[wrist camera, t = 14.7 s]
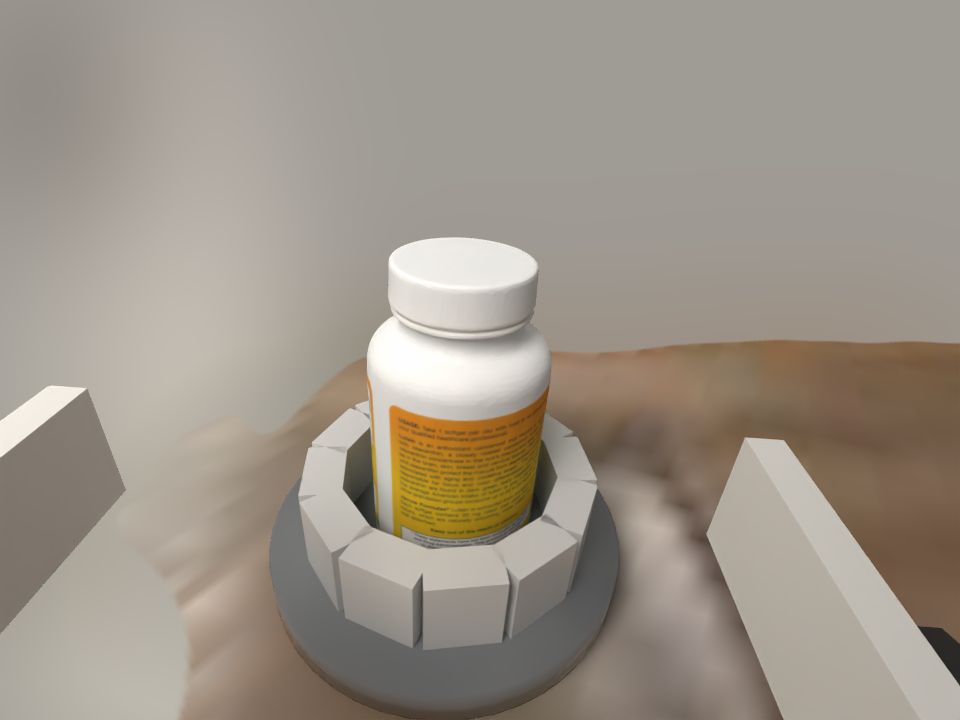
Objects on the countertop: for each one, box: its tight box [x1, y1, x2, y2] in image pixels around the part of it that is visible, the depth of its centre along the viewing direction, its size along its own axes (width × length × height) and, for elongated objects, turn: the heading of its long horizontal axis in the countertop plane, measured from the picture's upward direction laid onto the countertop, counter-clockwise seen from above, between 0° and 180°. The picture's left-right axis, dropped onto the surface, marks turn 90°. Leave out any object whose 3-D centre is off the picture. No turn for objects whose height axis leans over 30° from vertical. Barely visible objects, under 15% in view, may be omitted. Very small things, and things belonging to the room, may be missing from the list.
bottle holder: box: [270, 401, 619, 720], centre depth 22 cm, size 14×14×4 cm
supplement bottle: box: [367, 238, 551, 549], centre depth 19 cm, size 6×6×11 cm
